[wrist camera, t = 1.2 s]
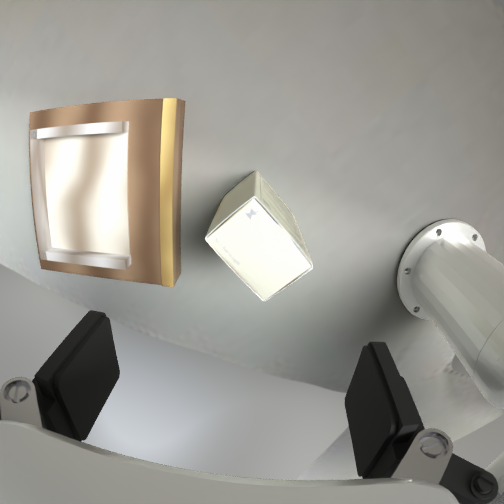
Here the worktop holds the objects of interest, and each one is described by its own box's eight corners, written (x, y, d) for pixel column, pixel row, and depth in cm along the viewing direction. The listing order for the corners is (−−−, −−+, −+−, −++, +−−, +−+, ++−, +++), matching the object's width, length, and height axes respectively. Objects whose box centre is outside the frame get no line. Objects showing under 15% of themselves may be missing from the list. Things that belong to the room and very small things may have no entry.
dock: (185, 101, 28) (172, 97, 24) (180, 273, 34) (169, 293, 30) (45, 112, 28) (21, 112, 24) (54, 259, 35) (34, 274, 30)
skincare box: (222, 196, 31) (198, 236, 20) (257, 167, 30) (253, 191, 19) (263, 243, 33) (262, 305, 22) (298, 217, 32) (315, 267, 20)
